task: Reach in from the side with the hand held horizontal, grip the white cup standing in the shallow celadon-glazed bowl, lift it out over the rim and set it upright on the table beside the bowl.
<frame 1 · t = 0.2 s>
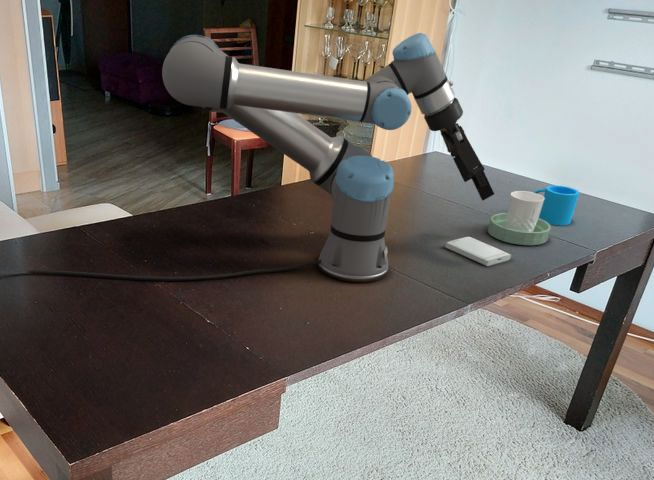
hand: (478, 187, 154), 15 cm above the table, tool tilted 35°, fingers open, 13 cm apart
white cup: (517, 235, 171), resting on bowl
mug: (546, 218, 183), on the table
hard drive: (476, 254, 160), on the table
bowl: (516, 235, 171), on the table
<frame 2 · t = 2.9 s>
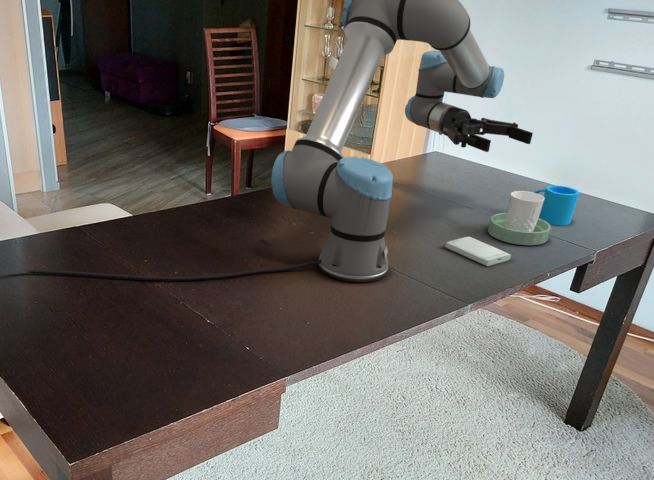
hand: (510, 142, 165), 22 cm above the table, tool horizontal, fingers open, 13 cm apart
nothing on the table moved.
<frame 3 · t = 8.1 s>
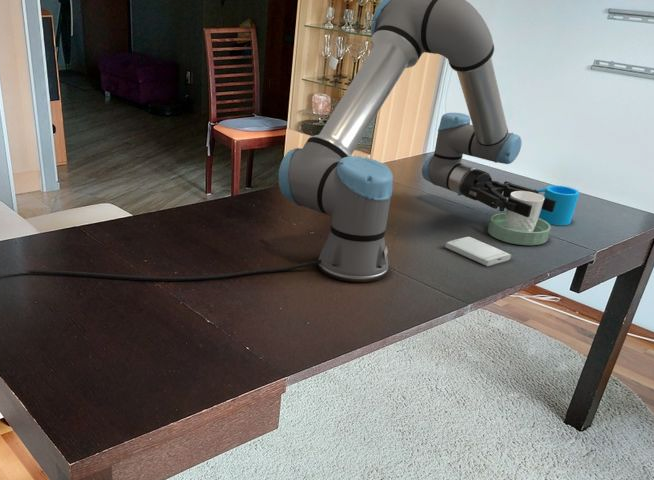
hand: (541, 209, 163), 8 cm above the table, tool horizontal, fingers closed on white cup, 8 cm apart
white cup: (517, 235, 171), resting on bowl, touching gripper
everything else where it was.
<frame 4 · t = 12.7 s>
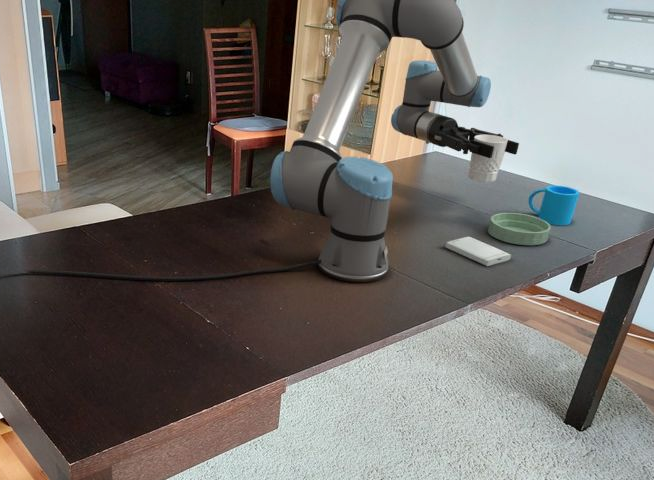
hand: (504, 150, 164), 20 cm above the table, tool horizontal, fingers closed on white cup, 8 cm apart
white cup: (481, 179, 172), point 12 cm above the table, touching gripper
everything else where it was.
when the fingers open (8 cm above the table, at t = 17.3 s): white cup stays where it is, on the table.
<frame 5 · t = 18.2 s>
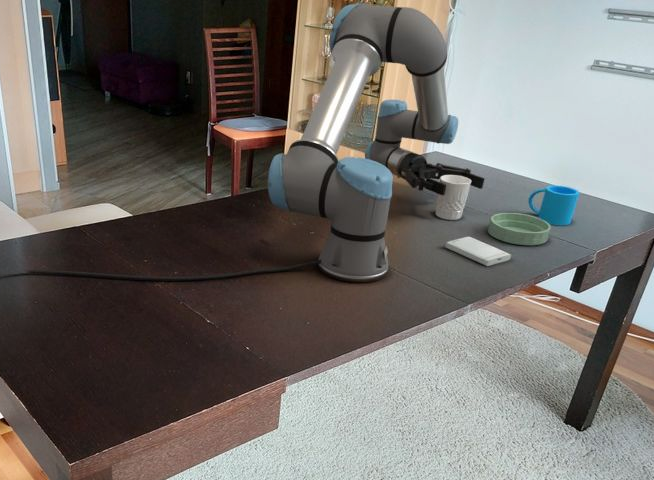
hand: (463, 186, 175), 9 cm above the table, tool horizontal, fingers open, 13 cm apart
white cup: (448, 216, 182), on the table
everything else where it was.
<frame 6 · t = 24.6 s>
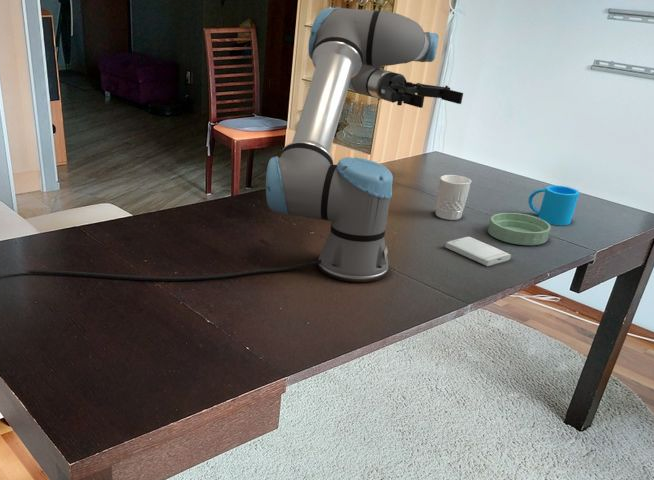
hand: (442, 100, 175), 28 cm above the table, tool horizontal, fingers open, 13 cm apart
nothing on the table moved.
at the end: white cup inside the target area (0.0 cm from its centre), on the table; white cup tilted 0°; white cup touching table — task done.
